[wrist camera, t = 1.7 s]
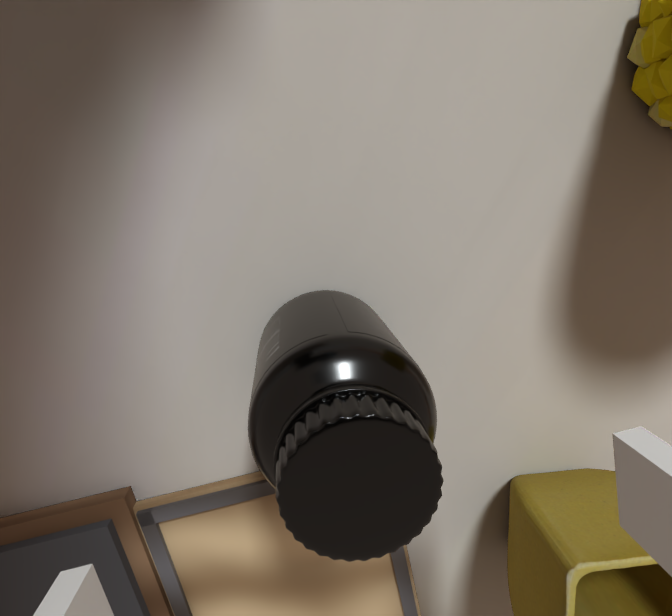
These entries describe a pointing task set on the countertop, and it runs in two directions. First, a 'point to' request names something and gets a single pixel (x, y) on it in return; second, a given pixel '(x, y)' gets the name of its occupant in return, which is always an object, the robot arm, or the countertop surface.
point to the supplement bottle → (343, 428)
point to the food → (654, 59)
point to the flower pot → (578, 550)
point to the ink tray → (92, 511)
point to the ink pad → (63, 554)
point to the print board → (260, 559)
